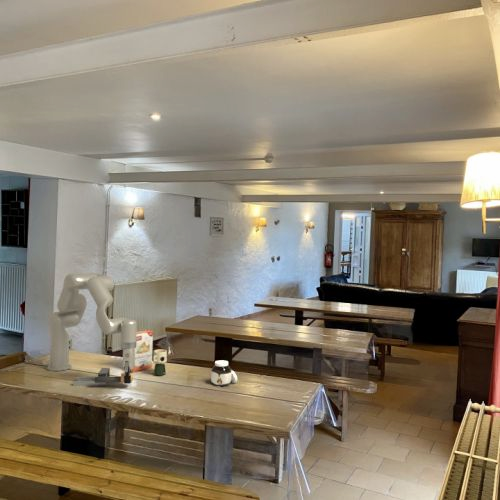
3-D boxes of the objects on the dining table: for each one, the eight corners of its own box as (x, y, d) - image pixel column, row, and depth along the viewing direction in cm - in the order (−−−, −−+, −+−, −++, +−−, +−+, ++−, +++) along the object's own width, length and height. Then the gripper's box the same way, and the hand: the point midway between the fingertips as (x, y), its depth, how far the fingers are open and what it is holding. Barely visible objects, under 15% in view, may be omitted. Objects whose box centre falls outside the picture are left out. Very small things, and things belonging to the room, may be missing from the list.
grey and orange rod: (94, 383, 236) (94, 374, 236) (96, 381, 240) (96, 372, 240) (133, 383, 238) (133, 374, 238) (134, 380, 242) (134, 372, 242)
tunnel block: (72, 385, 240) (73, 373, 240) (77, 379, 250) (77, 368, 250) (106, 385, 242) (106, 373, 242) (109, 379, 252) (109, 367, 251)
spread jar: (208, 385, 247) (209, 362, 247) (220, 379, 257) (220, 357, 257) (229, 389, 242) (229, 365, 241) (240, 383, 252) (240, 360, 251)
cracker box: (133, 372, 265) (133, 334, 264) (125, 370, 268) (126, 333, 268) (152, 367, 276) (153, 331, 275) (145, 365, 279) (146, 329, 279)
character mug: (158, 378, 256) (159, 353, 256) (148, 376, 259) (148, 352, 259) (171, 373, 266) (171, 349, 265) (160, 371, 269) (161, 348, 268)
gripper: (134, 349, 231) (133, 387, 232) (138, 341, 248) (137, 376, 249) (118, 349, 231) (117, 387, 231) (123, 341, 247) (122, 376, 248)
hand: (128, 381), depth 240 cm, fingers closed on grey and orange rod, 4 cm apart
